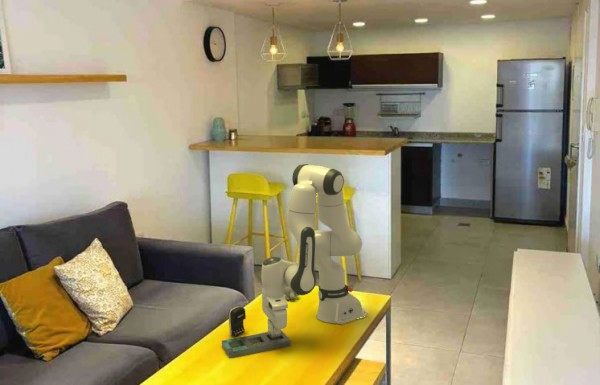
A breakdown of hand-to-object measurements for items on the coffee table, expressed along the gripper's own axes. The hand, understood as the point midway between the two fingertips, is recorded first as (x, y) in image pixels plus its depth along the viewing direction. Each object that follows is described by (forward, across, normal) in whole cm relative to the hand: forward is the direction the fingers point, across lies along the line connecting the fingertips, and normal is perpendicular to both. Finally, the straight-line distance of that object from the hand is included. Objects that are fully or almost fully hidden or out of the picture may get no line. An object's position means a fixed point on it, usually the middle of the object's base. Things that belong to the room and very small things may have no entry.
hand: (274, 330), depth 240 cm
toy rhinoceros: (+6, -43, +21) cm, 48 cm away
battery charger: (+5, -13, -12) cm, 18 cm away
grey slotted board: (+5, +1, -8) cm, 9 cm away
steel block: (+4, 0, 0) cm, 4 cm away
